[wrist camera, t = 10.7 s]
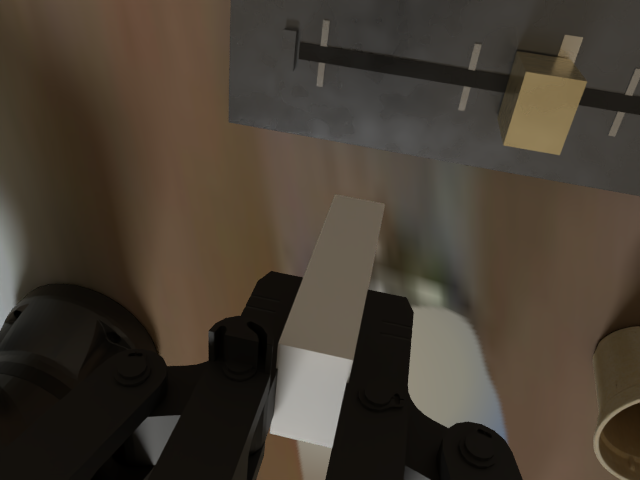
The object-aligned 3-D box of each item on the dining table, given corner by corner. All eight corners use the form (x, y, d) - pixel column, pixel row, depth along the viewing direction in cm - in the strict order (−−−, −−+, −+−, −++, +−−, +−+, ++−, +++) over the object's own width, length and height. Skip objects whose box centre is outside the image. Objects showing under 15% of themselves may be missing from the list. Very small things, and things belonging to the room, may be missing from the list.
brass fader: (497, 117, 34) (503, 145, 30) (516, 51, 31) (525, 71, 28) (547, 126, 33) (559, 155, 30) (570, 59, 31) (587, 81, 27)
